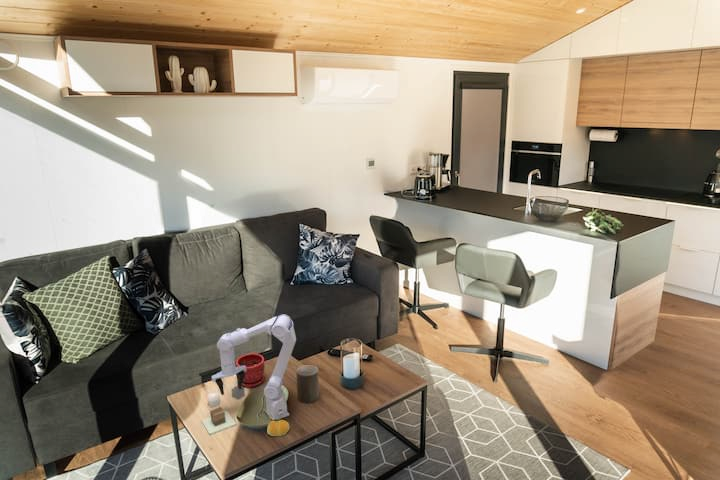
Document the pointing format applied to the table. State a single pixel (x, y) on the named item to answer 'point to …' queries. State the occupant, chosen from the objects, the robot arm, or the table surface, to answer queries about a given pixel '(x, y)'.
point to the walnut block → (217, 416)
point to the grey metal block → (238, 392)
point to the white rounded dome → (213, 398)
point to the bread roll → (278, 428)
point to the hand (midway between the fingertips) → (231, 390)
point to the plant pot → (252, 369)
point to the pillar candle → (307, 384)
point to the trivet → (215, 429)
